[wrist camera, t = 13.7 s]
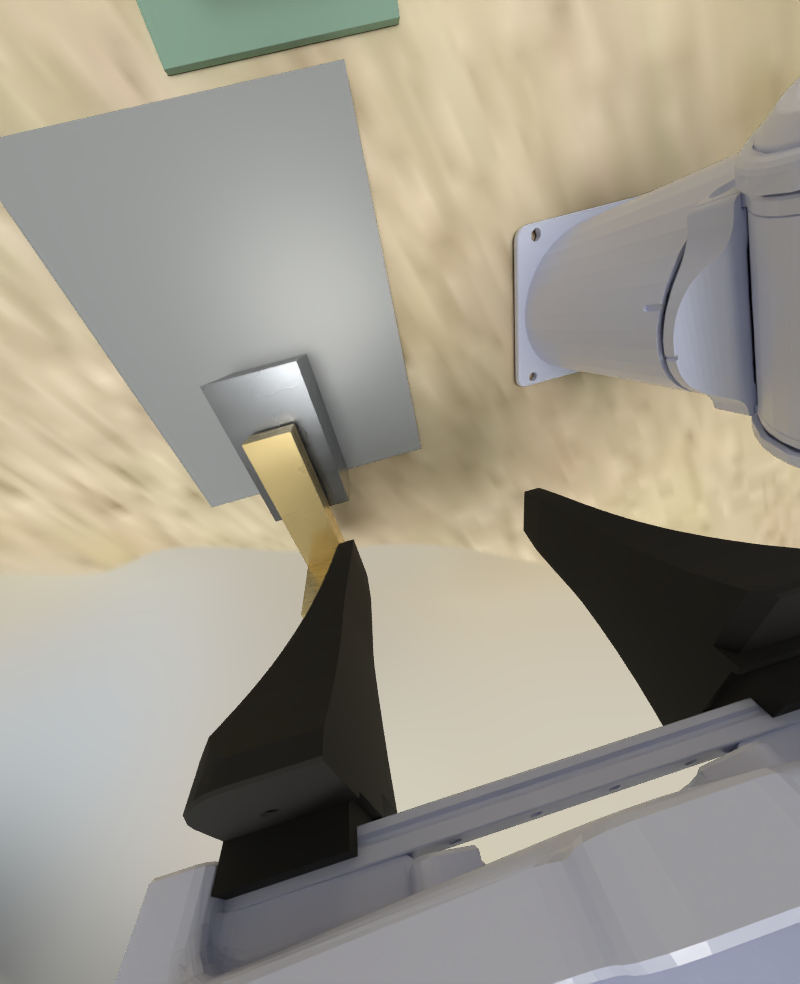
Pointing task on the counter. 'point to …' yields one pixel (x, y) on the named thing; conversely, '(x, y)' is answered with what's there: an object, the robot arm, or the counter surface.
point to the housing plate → (228, 270)
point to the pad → (252, 27)
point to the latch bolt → (297, 500)
